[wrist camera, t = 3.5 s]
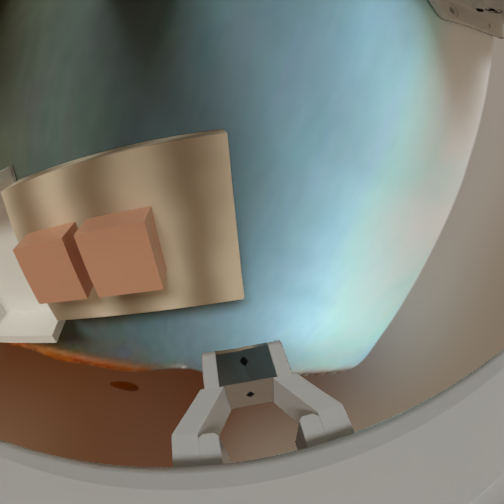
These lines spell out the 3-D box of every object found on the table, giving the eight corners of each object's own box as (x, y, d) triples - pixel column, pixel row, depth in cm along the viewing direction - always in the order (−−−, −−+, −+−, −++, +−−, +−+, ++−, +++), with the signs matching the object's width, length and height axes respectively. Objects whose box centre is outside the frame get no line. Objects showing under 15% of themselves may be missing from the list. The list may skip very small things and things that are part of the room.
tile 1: (75, 221, 17) (61, 238, 15) (96, 278, 19) (87, 298, 17) (27, 233, 16) (12, 249, 14) (50, 285, 19) (39, 304, 17)
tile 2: (151, 205, 17) (144, 221, 15) (166, 268, 20) (163, 289, 18) (86, 219, 17) (73, 235, 15) (107, 277, 19) (98, 297, 17)
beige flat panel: (223, 129, 18) (227, 133, 16) (239, 277, 25) (244, 298, 23) (19, 179, 16) (0, 191, 14) (66, 300, 23) (57, 320, 21)
